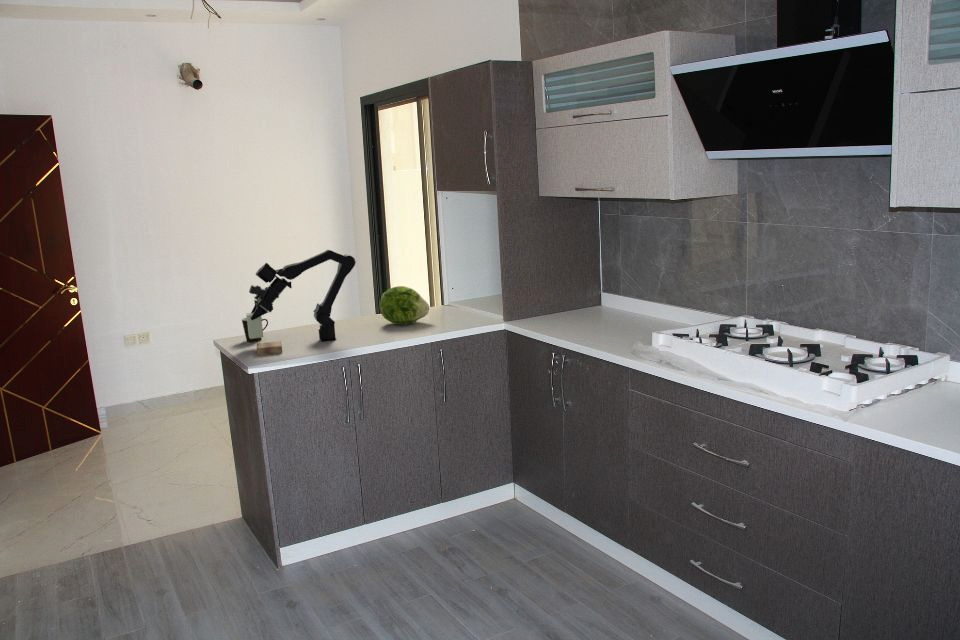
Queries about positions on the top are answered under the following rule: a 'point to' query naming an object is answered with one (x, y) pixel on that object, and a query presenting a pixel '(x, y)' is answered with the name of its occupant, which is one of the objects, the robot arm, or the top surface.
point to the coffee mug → (248, 333)
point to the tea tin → (254, 326)
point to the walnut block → (269, 348)
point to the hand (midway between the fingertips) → (250, 318)
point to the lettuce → (403, 305)
